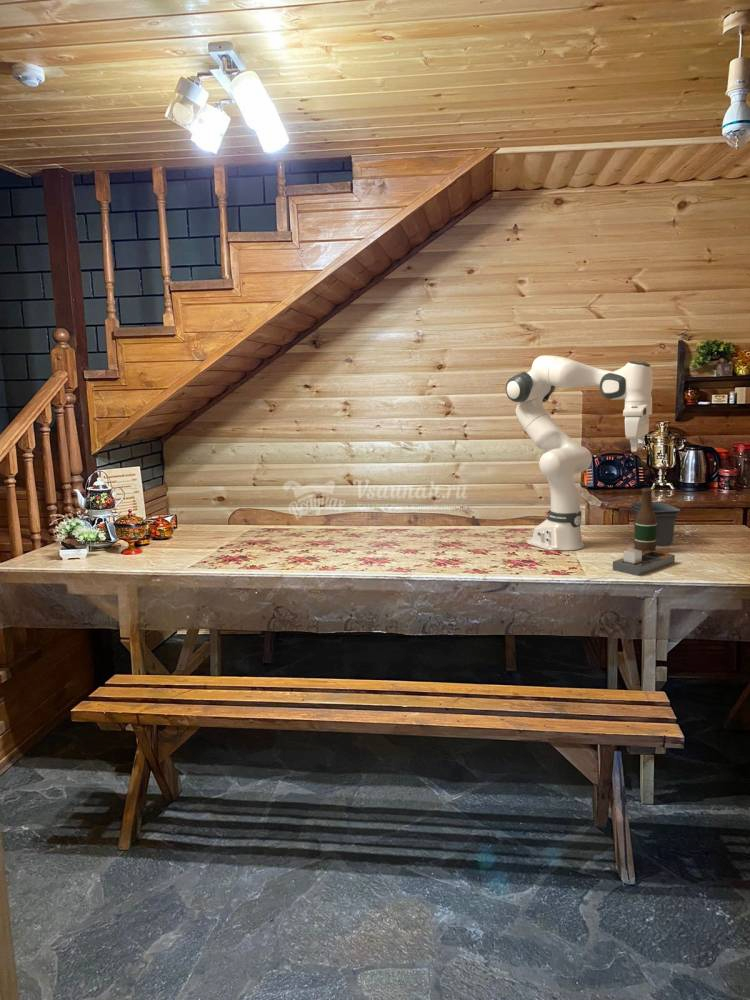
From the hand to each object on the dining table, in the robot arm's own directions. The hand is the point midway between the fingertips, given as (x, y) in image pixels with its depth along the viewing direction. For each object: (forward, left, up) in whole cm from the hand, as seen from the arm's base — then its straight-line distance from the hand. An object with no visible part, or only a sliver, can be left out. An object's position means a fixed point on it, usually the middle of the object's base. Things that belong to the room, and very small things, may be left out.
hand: (637, 449), depth 252 cm
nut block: (+5, -9, -40) cm, 41 cm away
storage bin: (-13, +35, -41) cm, 55 cm away
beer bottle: (-7, +18, -41) cm, 45 cm away
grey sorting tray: (+5, -2, -41) cm, 41 cm away
